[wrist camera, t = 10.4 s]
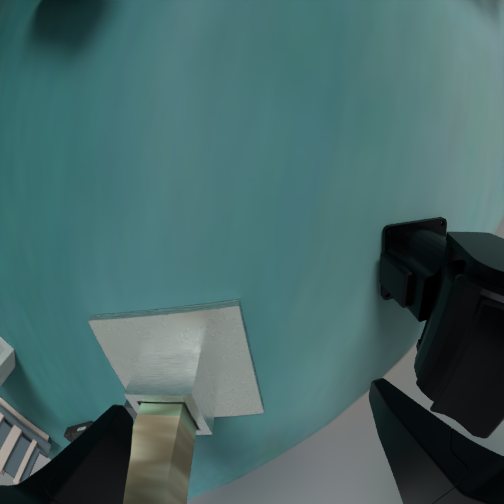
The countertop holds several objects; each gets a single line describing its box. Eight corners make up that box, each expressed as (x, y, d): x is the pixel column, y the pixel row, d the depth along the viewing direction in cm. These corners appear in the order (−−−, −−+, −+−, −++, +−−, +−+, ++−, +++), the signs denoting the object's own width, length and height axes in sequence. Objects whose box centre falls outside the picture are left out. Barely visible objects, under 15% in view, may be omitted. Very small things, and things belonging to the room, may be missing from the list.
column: (182, 404, 18) (161, 514, 9) (196, 428, 19) (183, 526, 10) (141, 403, 18) (110, 503, 9) (158, 427, 19) (137, 517, 10)
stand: (239, 299, 21) (236, 353, 15) (263, 406, 26) (266, 454, 20) (92, 314, 22) (60, 357, 16) (146, 409, 27) (133, 451, 21)
